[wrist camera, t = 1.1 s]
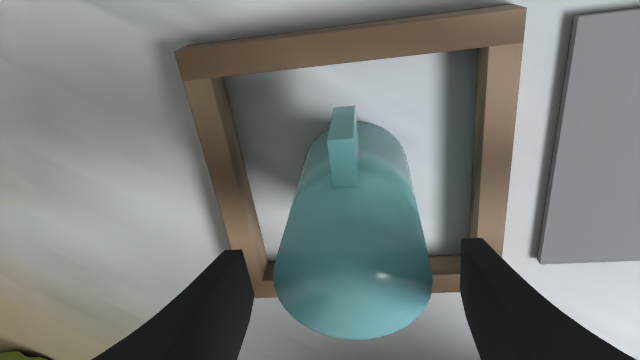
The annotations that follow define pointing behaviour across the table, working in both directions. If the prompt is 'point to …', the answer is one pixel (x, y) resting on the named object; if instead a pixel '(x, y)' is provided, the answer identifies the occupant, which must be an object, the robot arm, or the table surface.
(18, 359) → the plant pot
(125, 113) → the table surface
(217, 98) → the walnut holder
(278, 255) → the teal jug
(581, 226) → the gray mat
